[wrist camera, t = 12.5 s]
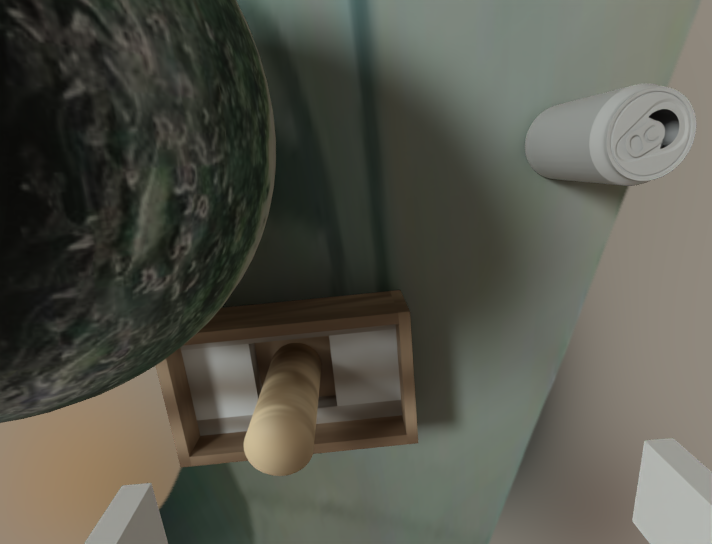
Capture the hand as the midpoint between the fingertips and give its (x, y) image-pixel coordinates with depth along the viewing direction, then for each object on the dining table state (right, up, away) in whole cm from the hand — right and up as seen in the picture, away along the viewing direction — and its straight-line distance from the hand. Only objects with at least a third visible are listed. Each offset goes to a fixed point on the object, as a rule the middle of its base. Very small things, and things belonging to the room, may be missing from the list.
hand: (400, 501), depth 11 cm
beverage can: (+17, +18, +26) cm, 36 cm away
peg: (-7, -3, +30) cm, 31 cm away
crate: (-7, -3, +31) cm, 32 cm away
